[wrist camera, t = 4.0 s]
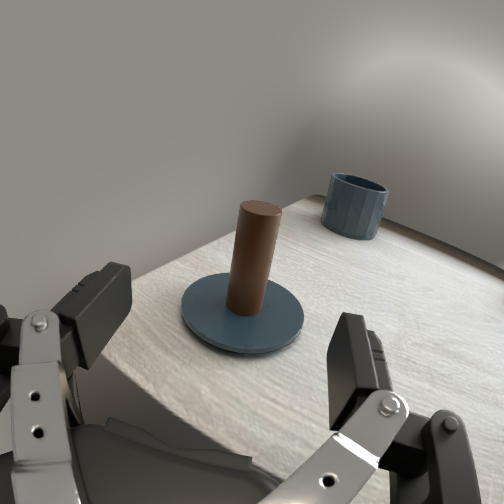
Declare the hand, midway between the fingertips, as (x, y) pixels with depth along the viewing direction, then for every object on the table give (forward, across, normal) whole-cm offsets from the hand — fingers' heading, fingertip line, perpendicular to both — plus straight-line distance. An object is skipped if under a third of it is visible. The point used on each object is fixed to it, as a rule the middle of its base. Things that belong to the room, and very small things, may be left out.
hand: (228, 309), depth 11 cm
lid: (+11, 0, +8) cm, 14 cm away
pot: (+38, -12, +9) cm, 40 cm away
